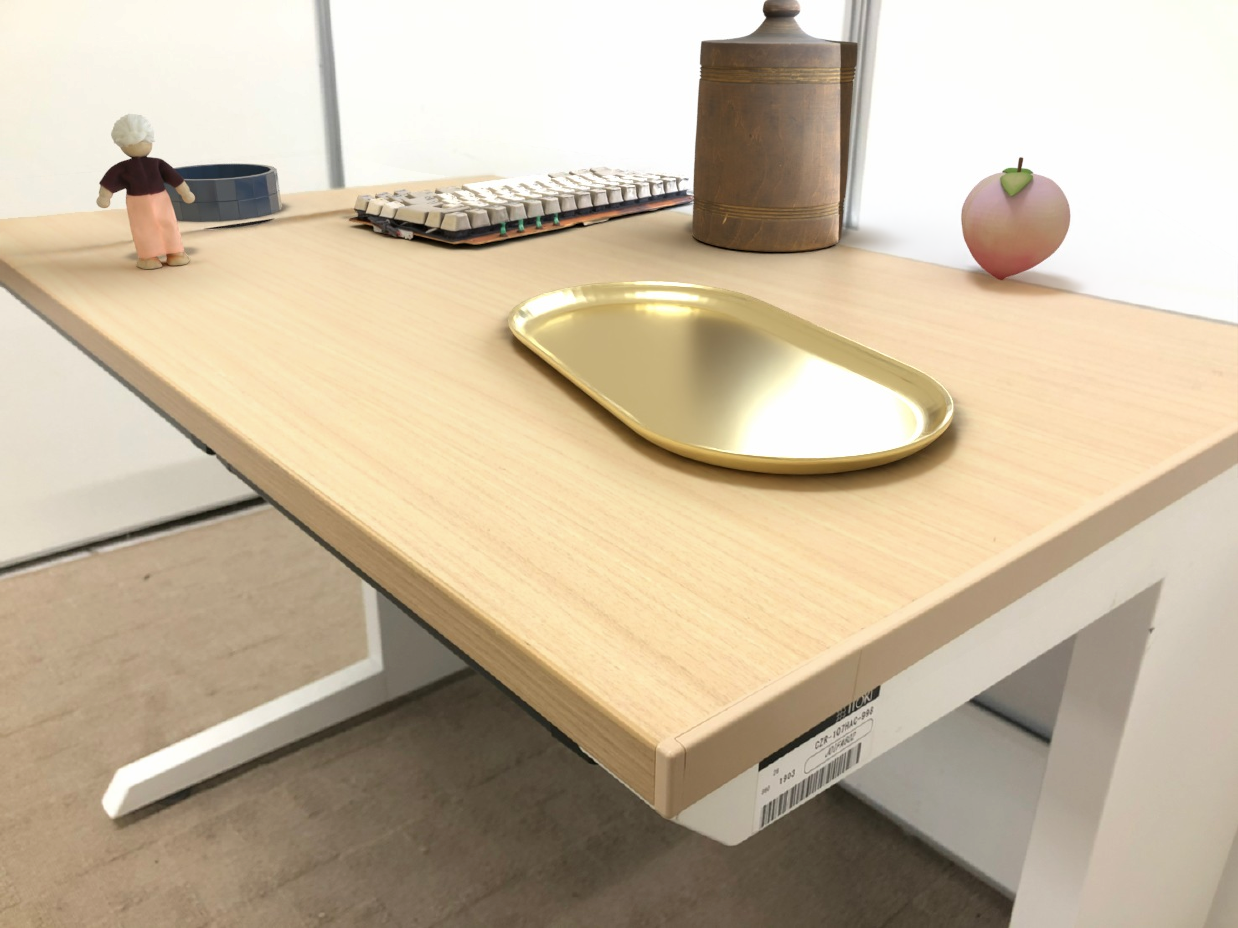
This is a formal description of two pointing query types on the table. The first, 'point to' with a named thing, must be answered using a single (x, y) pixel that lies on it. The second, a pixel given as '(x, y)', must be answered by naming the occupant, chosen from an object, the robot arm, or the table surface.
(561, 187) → the mechanical keyboard
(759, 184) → the wooden container
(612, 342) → the serving platter
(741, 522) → the table surface
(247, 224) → the bowl
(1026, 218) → the decorative fruit
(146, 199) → the grandmother figurine
